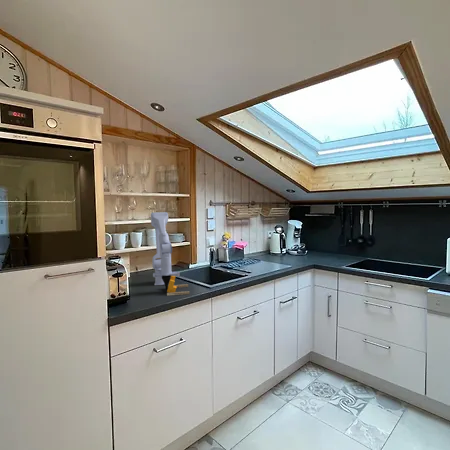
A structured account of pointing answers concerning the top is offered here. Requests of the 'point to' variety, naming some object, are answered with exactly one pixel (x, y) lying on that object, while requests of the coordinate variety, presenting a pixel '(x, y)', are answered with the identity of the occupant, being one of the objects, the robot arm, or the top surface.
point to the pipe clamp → (172, 285)
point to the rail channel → (179, 292)
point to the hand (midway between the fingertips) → (166, 288)
